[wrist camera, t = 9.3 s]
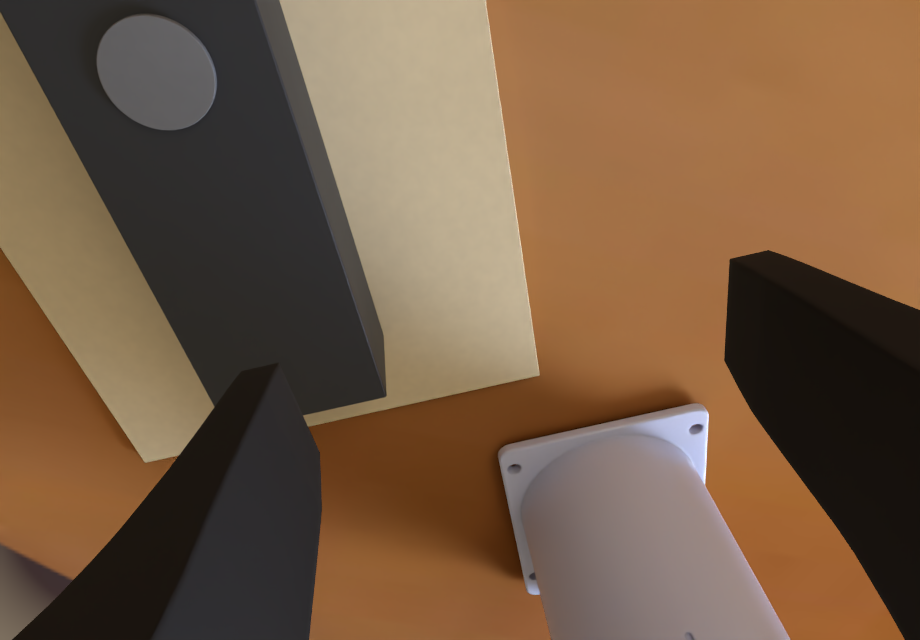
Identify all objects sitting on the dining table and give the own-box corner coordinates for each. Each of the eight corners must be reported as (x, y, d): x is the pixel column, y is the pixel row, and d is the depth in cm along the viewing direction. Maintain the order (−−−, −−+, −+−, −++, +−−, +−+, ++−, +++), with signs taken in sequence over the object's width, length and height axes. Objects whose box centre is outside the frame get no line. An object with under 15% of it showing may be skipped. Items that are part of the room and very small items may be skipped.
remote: (384, 335, 21) (387, 401, 18) (243, 367, 21) (227, 436, 18) (166, -365, 12) (111, -430, 9) (-84, -309, 12) (-209, -358, 9)
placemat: (538, 370, 23) (540, 375, 23) (147, 457, 23) (144, 463, 23) (384, -684, 10) (385, -698, 10) (-482, -490, 10) (-503, -499, 10)
